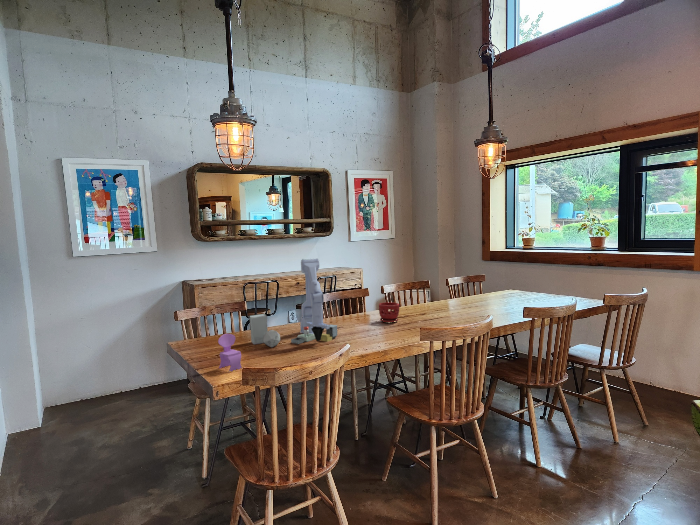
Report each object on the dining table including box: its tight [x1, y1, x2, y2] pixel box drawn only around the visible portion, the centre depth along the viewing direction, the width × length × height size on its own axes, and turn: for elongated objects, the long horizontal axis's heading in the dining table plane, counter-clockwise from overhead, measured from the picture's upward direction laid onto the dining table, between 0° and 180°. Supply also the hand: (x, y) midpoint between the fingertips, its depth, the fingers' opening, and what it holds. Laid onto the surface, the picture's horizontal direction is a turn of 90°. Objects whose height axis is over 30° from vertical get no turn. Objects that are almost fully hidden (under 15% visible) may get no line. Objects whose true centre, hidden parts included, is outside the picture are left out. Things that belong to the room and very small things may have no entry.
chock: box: [319, 333, 333, 343], centre depth 227 cm, size 5×4×4 cm
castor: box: [325, 324, 338, 340], centre depth 231 cm, size 5×6×7 cm
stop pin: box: [303, 326, 309, 337], centre depth 229 cm, size 3×3×6 cm
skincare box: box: [249, 313, 269, 345], centre depth 226 cm, size 8×6×15 cm
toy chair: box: [217, 333, 243, 372], centre depth 183 cm, size 8×9×15 cm
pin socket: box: [290, 336, 306, 345], centre depth 224 cm, size 5×5×2 cm
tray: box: [297, 333, 316, 343], centre depth 229 cm, size 7×7×2 cm
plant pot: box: [378, 301, 400, 323], centre depth 268 cm, size 13×13×12 cm
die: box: [263, 329, 281, 348], centre depth 218 cm, size 8×9×10 cm
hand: (318, 340), depth 222 cm, fingers closed
